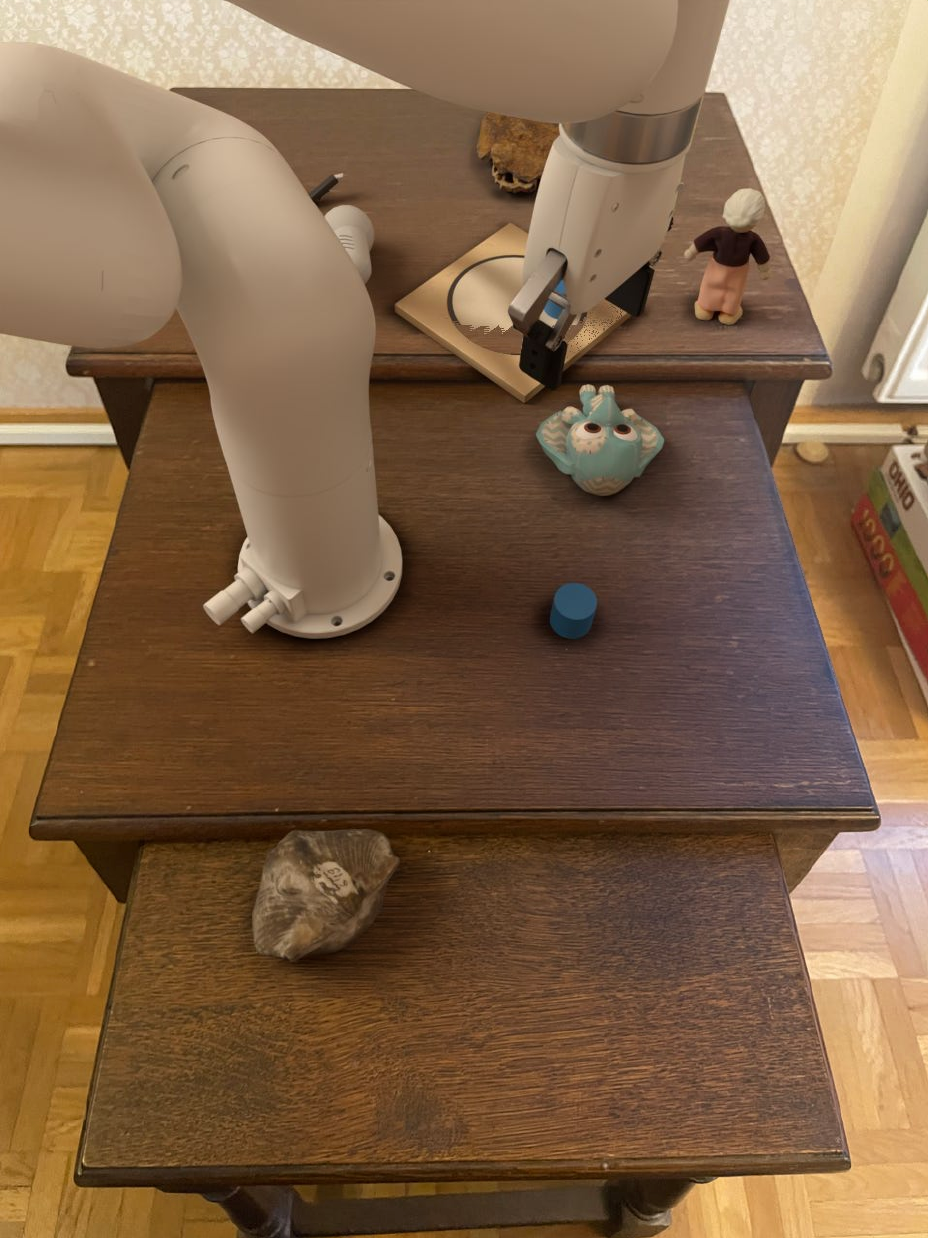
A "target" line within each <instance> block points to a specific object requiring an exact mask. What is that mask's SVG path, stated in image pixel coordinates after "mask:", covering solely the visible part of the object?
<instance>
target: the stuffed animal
mask: <svg viewBox="0 0 928 1238" xmlns="http://www.w3.org/2000/svg"><path fill="white" fill-rule="evenodd" d="M579 399H580V403H581V405H582V411H581V410H580V409H579V408H576V407H574V406H567V407H566V408H564V409H563V410H559V411H556V412H554V413H553V414H551V415H550V416H549V417H548V418H547V419H545V420H543V421H542V422H541V423H540V425H539V427H538V429H537V431H536V433H535V436H536V438H537V440H538V442H539V445H540V447H541V448H542V450H543V452H544V454H545V455H546V456H547V457H548V458H549V459H550V460H551V461H552V462H553V463H554V465H555V466H556V467H557V469H558V470H559V471H560V472H562V473H563V474H564V475H570V476H571V478H572V480H573V482H575V483H576V485H577V486H578V487H579V488H580V489H581V490H582V491H584V492H586V493H589V494H591V495H595V496H600V497H605V496H606V497H607V496H611V495H614V494H617V493H619V492H620V491H621V490H623V489H625V488H626V487H627V486H628V485H629V484H630V483H632V481H633V480H634V478H640V477H641V475H642V474H643V472H644V470H645V469H646V467H647V466H648V465H649V464H650V463H651V461H652V460H653V459H654V458H655V457H656V456H657V454H658V453H659V452H660V451H661V450H662V448H663V447H664V443H665V438H664V437H663V436H662V434H661V432H660V431H659V429H658V428H657V427H656V426H655V425H653V424H652V423H651V422H649V421H648V420H646V419H645V418H644V417H642V416H640V415H639V414H637V412H636V411H635V410H633V408H626V409H623V410H622V411H621V409H620V407H619V406H618V404H617V402H616V393H615V390H614V387H613V386H611V385H608V384H605V385H602V386H600V387H599V389H598V390H597V391H596V388H595V386H594V385H592V384H589V383H588V384H584V385H582V386H581V388H580V389H579Z"/></svg>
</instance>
